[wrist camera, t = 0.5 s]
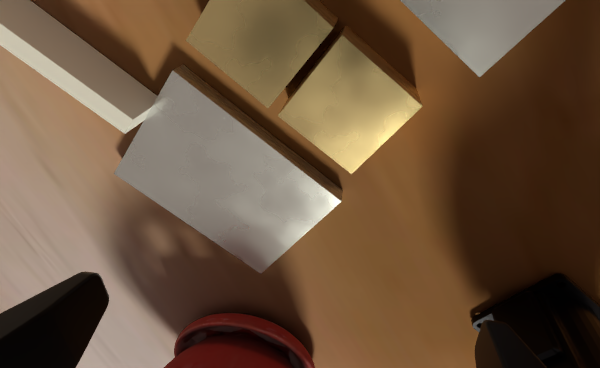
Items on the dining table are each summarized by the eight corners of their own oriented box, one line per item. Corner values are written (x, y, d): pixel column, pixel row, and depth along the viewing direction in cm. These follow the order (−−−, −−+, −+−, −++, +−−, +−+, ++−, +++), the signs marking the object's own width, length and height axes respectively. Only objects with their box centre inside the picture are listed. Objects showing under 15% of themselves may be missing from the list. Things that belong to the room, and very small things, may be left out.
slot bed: (664, -105, 13) (688, -111, 12) (265, 261, 25) (260, 273, 24) (447, -393, 11) (456, -430, 10) (125, 164, 23) (113, 173, 22)
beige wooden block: (338, 18, 17) (333, 28, 15) (281, 89, 19) (268, 108, 17) (261, -55, 16) (242, -57, 14) (210, 29, 18) (186, 40, 16)
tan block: (415, 86, 18) (422, 106, 16) (353, 149, 20) (351, 173, 18) (346, 24, 17) (342, 35, 15) (289, 96, 19) (277, 115, 17)
